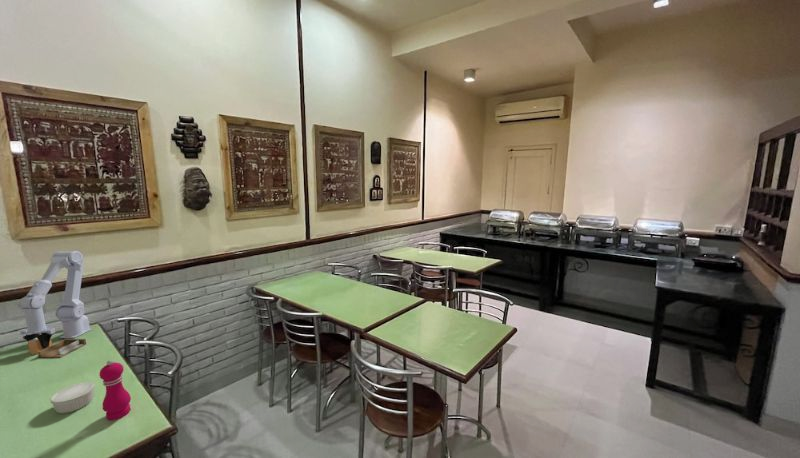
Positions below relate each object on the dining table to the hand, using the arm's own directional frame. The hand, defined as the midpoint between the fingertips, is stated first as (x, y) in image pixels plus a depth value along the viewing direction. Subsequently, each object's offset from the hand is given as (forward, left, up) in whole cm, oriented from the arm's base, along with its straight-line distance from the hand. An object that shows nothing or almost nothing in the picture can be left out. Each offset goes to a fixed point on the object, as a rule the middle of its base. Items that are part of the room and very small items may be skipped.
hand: (41, 347), depth 151 cm
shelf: (+1, +11, -1) cm, 11 cm away
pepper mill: (+43, +74, -2) cm, 85 cm away
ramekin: (+38, +54, -2) cm, 66 cm away
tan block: (0, 0, -1) cm, 1 cm away
